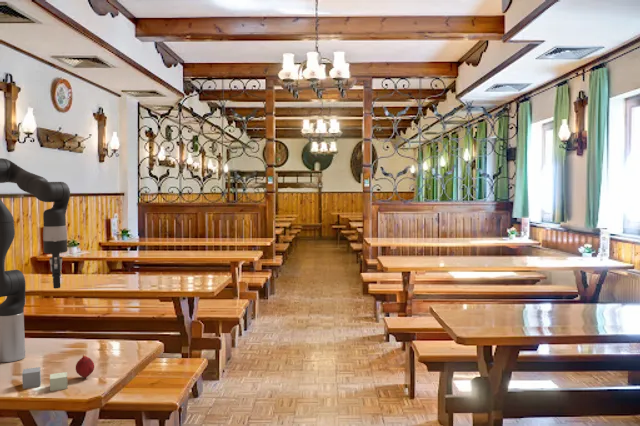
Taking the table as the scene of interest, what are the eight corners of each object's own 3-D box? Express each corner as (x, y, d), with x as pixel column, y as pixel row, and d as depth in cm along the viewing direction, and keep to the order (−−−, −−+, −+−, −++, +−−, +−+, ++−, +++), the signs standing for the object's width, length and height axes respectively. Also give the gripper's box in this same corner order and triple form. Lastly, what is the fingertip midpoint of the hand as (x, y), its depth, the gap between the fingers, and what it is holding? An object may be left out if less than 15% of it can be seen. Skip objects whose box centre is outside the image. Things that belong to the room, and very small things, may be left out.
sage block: (50, 391, 177) (49, 379, 177) (50, 386, 182) (50, 374, 182) (67, 389, 179) (67, 376, 179) (67, 384, 184) (67, 372, 184)
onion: (98, 375, 191) (97, 352, 190) (86, 381, 186) (85, 357, 185) (84, 374, 193) (83, 351, 192) (72, 379, 187) (71, 356, 187)
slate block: (22, 389, 180) (22, 373, 179) (23, 384, 184) (23, 369, 184) (40, 386, 182) (39, 371, 181) (40, 381, 186) (40, 366, 186)
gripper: (44, 237, 200) (45, 285, 201) (42, 241, 188) (44, 292, 189) (67, 236, 203) (68, 284, 204) (67, 240, 191) (68, 290, 192)
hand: (56, 287), depth 197 cm, fingers closed
